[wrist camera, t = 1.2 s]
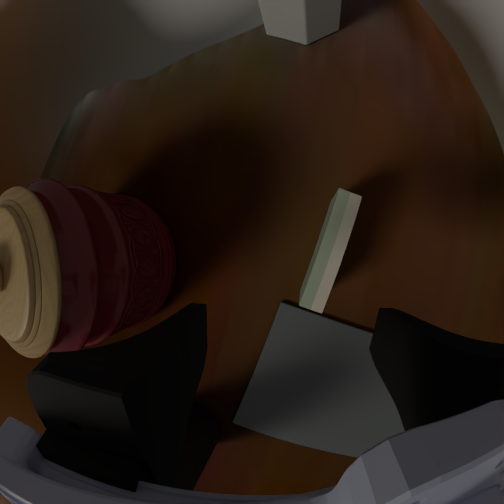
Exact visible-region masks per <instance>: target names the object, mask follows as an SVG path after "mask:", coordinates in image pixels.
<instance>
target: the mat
mask: <svg viewBox="0 0 504 504" xmlns="http://www.w3.org/2000/svg"><path fill="white" fill-rule="evenodd" d="M372 336H373V333H372V332H369V331H366V330H363V329H360V328H357V327H353V326H350V325H347V324H344V323H341V322H339V321H336V320H333V319H330V318H327V317H324V316H321V315H318V314H315V313H312V312H309V311H307V310H304V309H301V308H298V307H295V306H292V305H290V304H287V303H284V302H281V304H280V306H279V309H278V312H277V314H276V317H275V320H274V322H273V325H272V328H271V330H270V333H269V335H268V338H267V340H266V343H265V346H264V348H263V351H262V353H261V356H260V358H259V361H258V363H257V366H256V368H255V371H254V373H253V375H252V378H251V380H250V383H249V385H248V388H247V390H246V392H245V395H244V397H243V399H242V402H241V404H240V407H239V409H238V411H237V413H236V416H235V418H234V420H233V423H234V424H237V425H240V426H242V427H245V428H248V429H251V430H254V431H256V432H259V433H262V434H265V435H268V436H272V437H275V438H278V439H281V440H285V441H288V442H292V443H295V444H299V445H303V446H307V447H311V448H315V449H319V450H323V451H328V452H332V453H337V454H342V455H347V456H353V457H359V456H360V455H361V454H362V453H363V452H365V451H366V450H368V449H370V448H371V447H373V446H375V445H376V444H378V443H380V442H381V441H383V440H384V439H386V438H388V437H391V436H394V435H396V434H399V433H401V432H404V427H403V424H402V421H401V418H400V415H399V412H398V410H397V407H396V405H395V403H394V401H393V399H392V397H391V395H390V393H389V392H388V390H387V388H386V386H385V384H384V382H383V380H382V379H381V377H380V375H379V373H378V371H377V369H376V367H375V365H374V362H373V359H372V356H371V353H370V350H369V347H370V343H371V339H372Z"/></svg>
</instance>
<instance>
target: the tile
mask: <svg viewBox="0 0 504 504" xmlns="http://www.w3.org/2000/svg"><path fill="white" fill-rule="evenodd" d="M361 199H362V196H359V195H357V194H354V193H351V192H348V191H346V190H343V189H340V188H339V189H338V191H337V192H336V194H335V195H334V197H333V199H332V200H331V202H330V206H329V209H328V212H327V215H326V218H325V221H324V224H323V227H322V230H321V233H320V236H319V239H318V242H317V245H316V248H315V251H314V254H313V257H312V259H311V262H310V265H309V268H308V271H307V273H306V276H305V279H304V282H303V284H302V287H301V290H300V300H299V306H302V307H304V308H307V309H310V310H313V311H316V312H319V313H322V312H323V309H324V307H325V304H326V301H327V299H328V296H329V294H330V291H331V288H332V286H333V283H334V280H335V278H336V275H337V272H338V269H339V267H340V264H341V261H342V258H343V255H344V252H345V249H346V246H347V243H348V240H349V237H350V234H351V231H352V228H353V225H354V222H355V219H356V215H357V212H358V209H359V206H360V202H361Z"/></svg>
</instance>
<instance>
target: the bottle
mask: <svg viewBox="0 0 504 504" xmlns="http://www.w3.org/2000/svg"><path fill="white" fill-rule="evenodd" d="M219 437H220V426H219V424H218V422H217V420H216V419H215V418H214V417H213V415H212V414H211V413H210V412H208V411H207V410H206V409H204V408H203V407H201V406H199V405H196V404H194V403H192V406H191V410H190V414H189V418H188V424H187V430H186V435H185V442H184V448H183V455H182V462H181V470H180V479H179V489H184V490H190V491H193V489H194V487H195V485H196V483H197V481H198V479H199V477H200V475H201V474H202V472H203V470H204V468H205V466H206V464H207V462H208V460H209V458H210V456H211V454H212V452H213V450H214V448H215V446H216V444H217V442H218V440H219Z"/></svg>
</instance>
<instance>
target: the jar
mask: <svg viewBox="0 0 504 504" xmlns="http://www.w3.org/2000/svg"><path fill="white" fill-rule="evenodd" d="M341 1H342V0H258V4H259V7H260V11H261V15H262V19H263V23H264V27H265V31H266V34H267V35H270V36H275V37H279V38H283V39H287V40H290V41H294V42H298V43H301V44H304V45H308V44H310V43H312V42H314V41H316V40H318V39H320V38H322V37H325V36H327V35H329V34H331V33H333V32H336V31H338V30H339V24H340V13H341Z"/></svg>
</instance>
